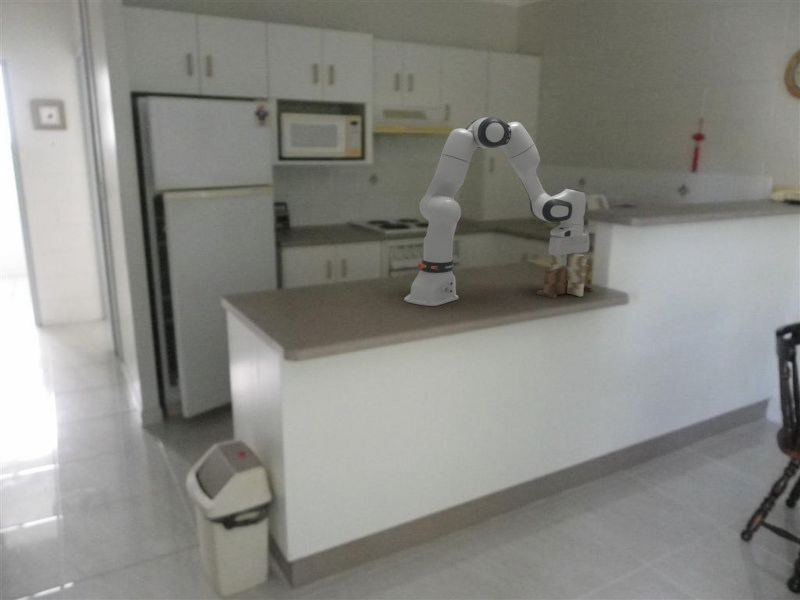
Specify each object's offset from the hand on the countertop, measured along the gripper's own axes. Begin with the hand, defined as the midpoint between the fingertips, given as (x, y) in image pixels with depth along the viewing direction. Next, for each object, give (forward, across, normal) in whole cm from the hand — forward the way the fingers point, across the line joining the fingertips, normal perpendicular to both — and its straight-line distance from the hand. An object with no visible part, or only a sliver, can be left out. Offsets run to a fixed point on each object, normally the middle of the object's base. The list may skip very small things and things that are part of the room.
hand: (567, 264), depth 238 cm
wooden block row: (+11, 0, 0) cm, 11 cm away
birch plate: (+11, 0, 0) cm, 11 cm away
